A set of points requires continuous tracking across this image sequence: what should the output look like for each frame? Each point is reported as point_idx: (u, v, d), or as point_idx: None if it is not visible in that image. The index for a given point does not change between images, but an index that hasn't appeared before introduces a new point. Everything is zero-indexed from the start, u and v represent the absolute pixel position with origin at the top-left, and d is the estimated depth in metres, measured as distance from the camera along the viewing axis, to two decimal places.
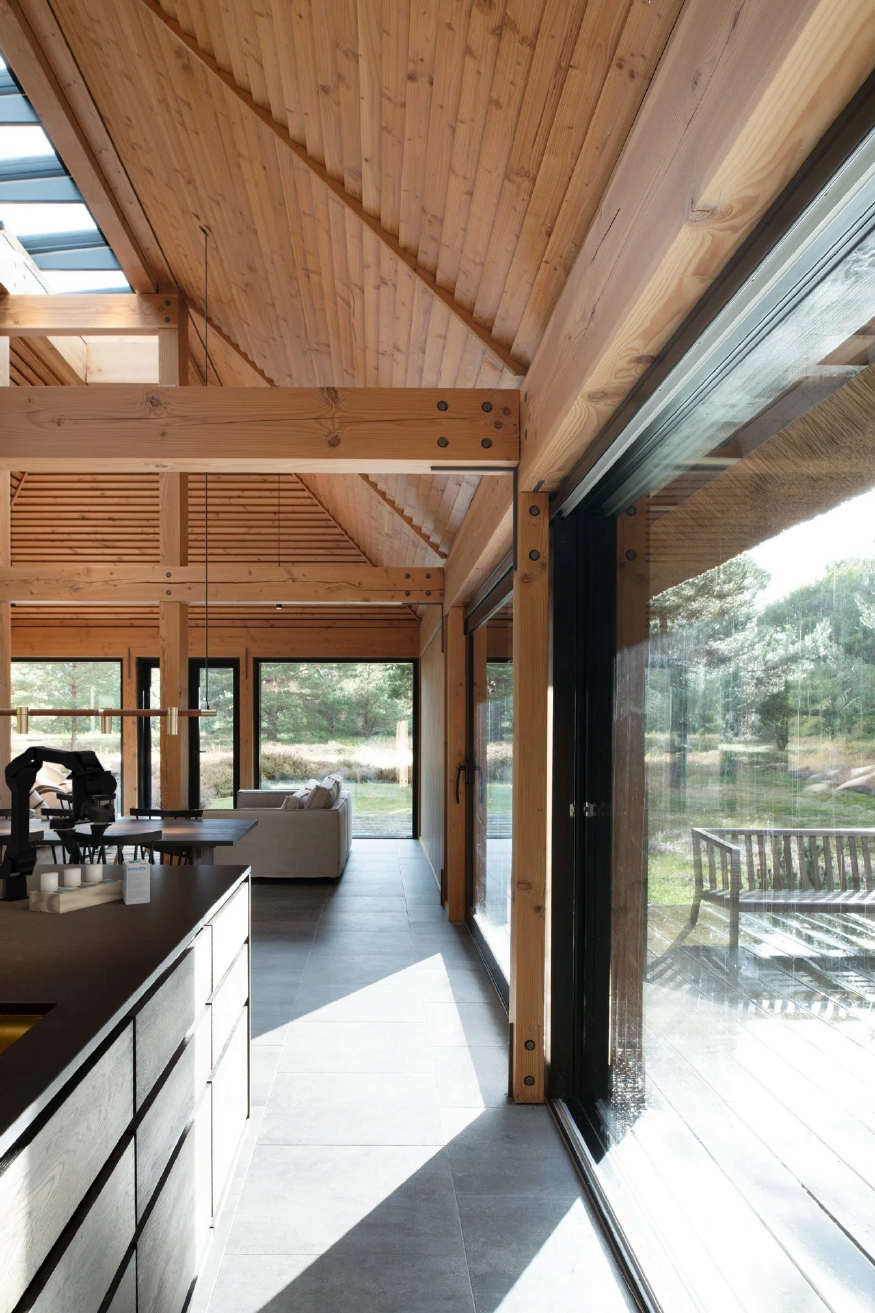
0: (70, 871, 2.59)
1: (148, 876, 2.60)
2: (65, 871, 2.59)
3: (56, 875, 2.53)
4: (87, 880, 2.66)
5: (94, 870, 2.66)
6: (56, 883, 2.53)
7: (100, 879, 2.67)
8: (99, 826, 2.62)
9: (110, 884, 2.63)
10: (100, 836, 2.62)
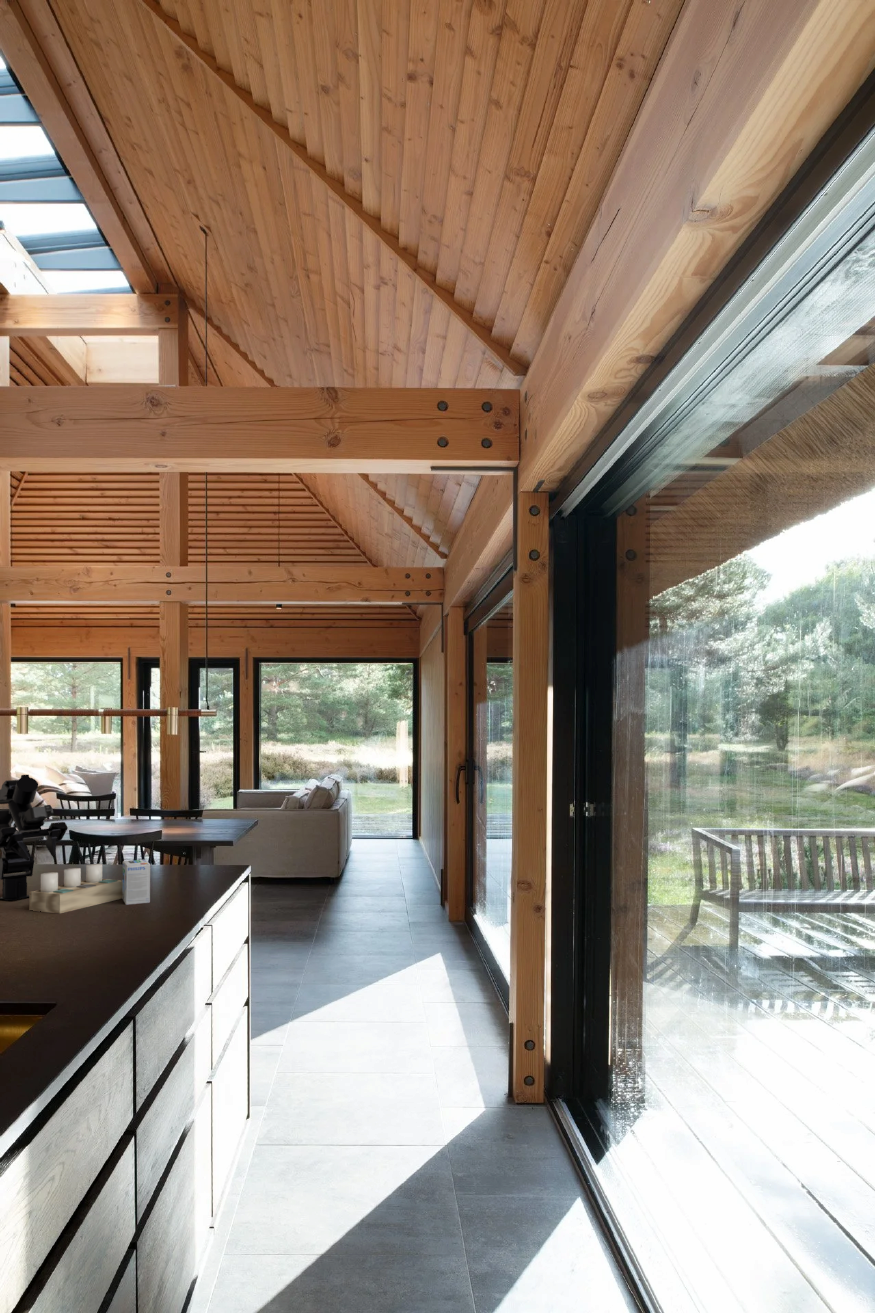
0: (70, 871, 2.59)
1: (148, 876, 2.60)
2: (65, 871, 2.59)
3: (56, 875, 2.53)
4: (87, 880, 2.66)
5: (94, 870, 2.66)
6: (56, 883, 2.53)
7: (100, 879, 2.67)
8: (49, 836, 2.63)
9: (110, 884, 2.63)
10: (52, 843, 2.61)
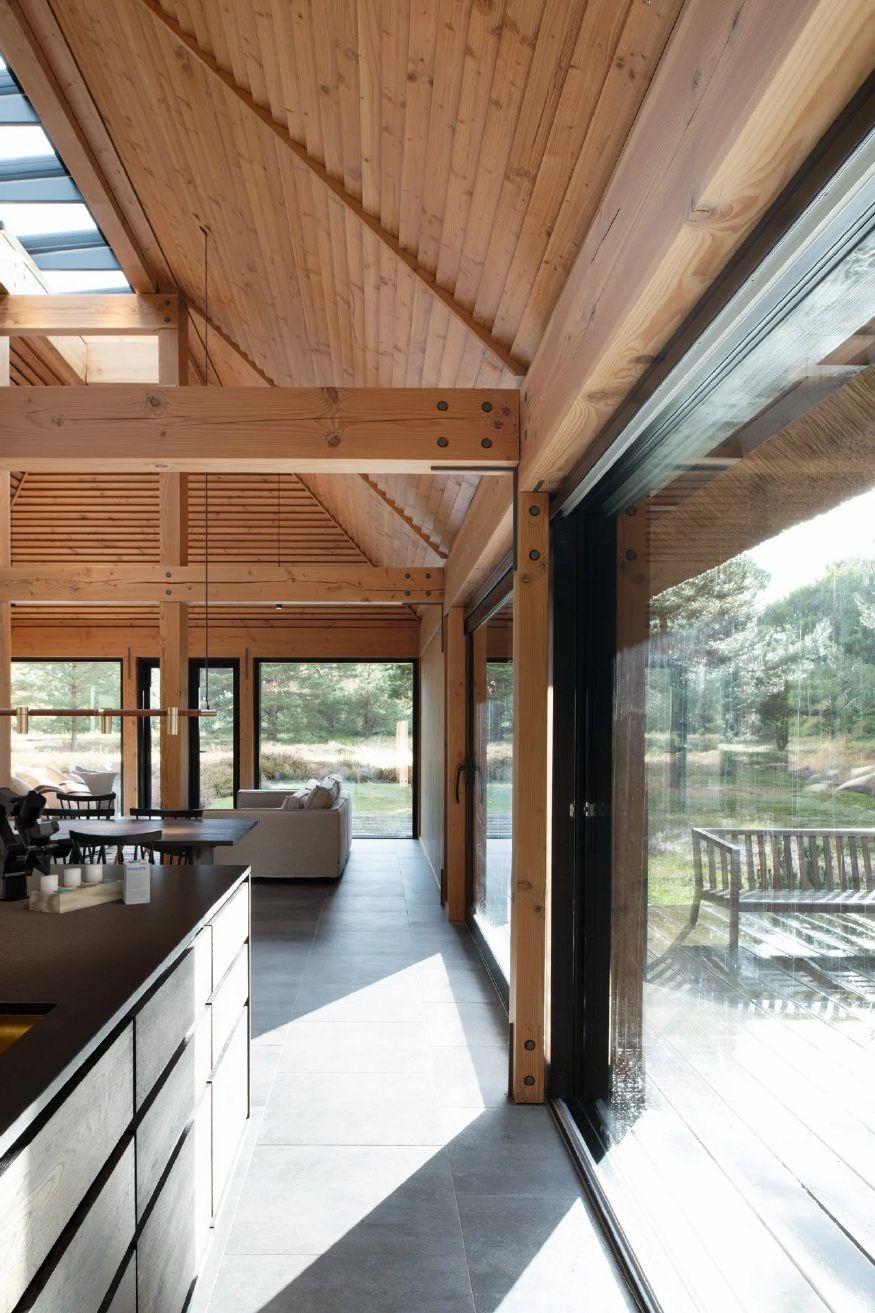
0: (70, 871, 2.59)
1: (148, 876, 2.60)
2: (65, 871, 2.59)
3: (56, 877, 2.53)
4: (87, 880, 2.66)
5: (94, 870, 2.66)
6: (56, 885, 2.53)
7: (100, 879, 2.67)
8: (43, 854, 2.58)
9: (110, 884, 2.63)
10: (47, 861, 2.56)
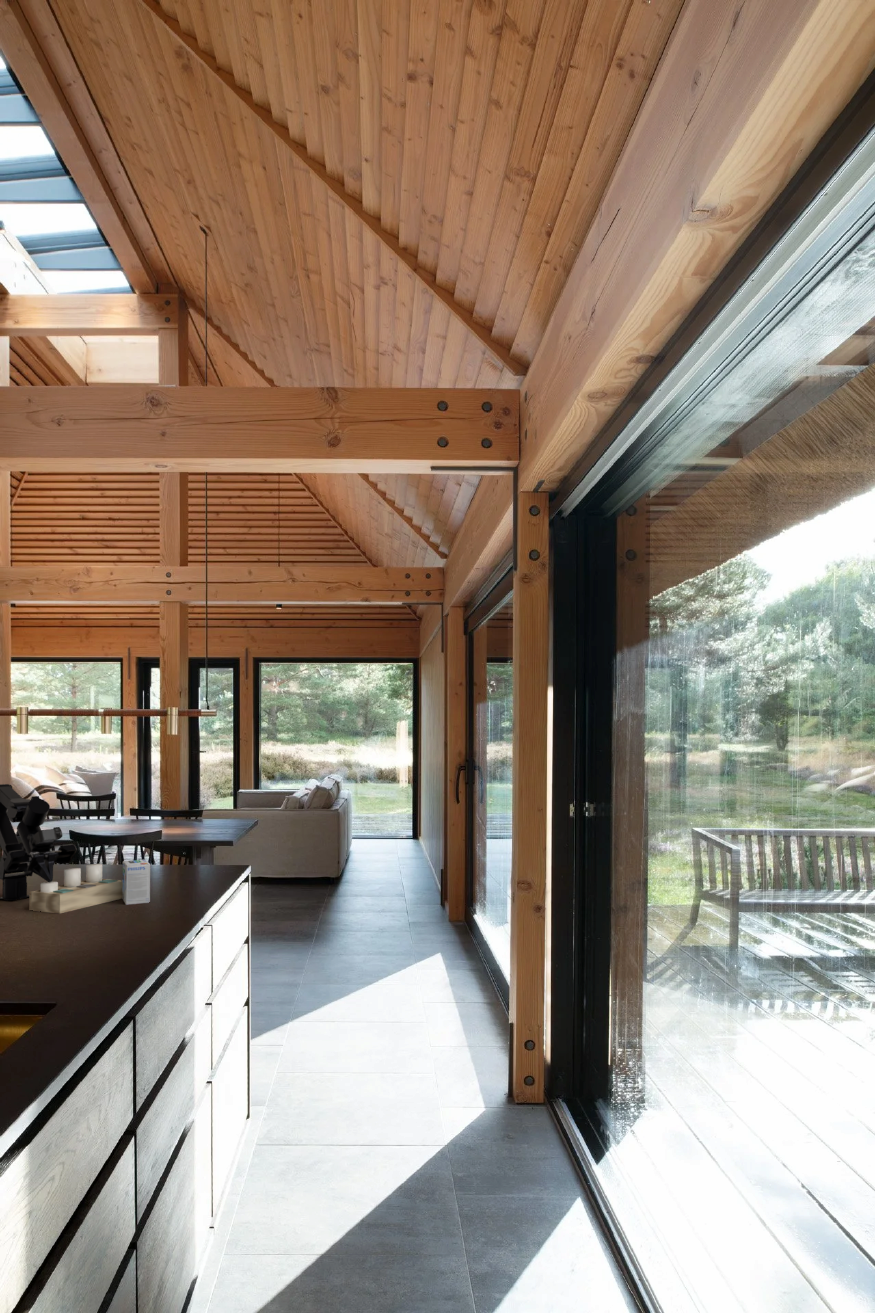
0: (70, 871, 2.59)
1: (148, 876, 2.60)
2: (65, 871, 2.59)
3: (56, 884, 2.53)
4: (87, 880, 2.66)
5: (94, 870, 2.66)
6: None
7: (100, 879, 2.67)
8: (46, 860, 2.56)
9: (110, 884, 2.63)
10: (49, 868, 2.55)
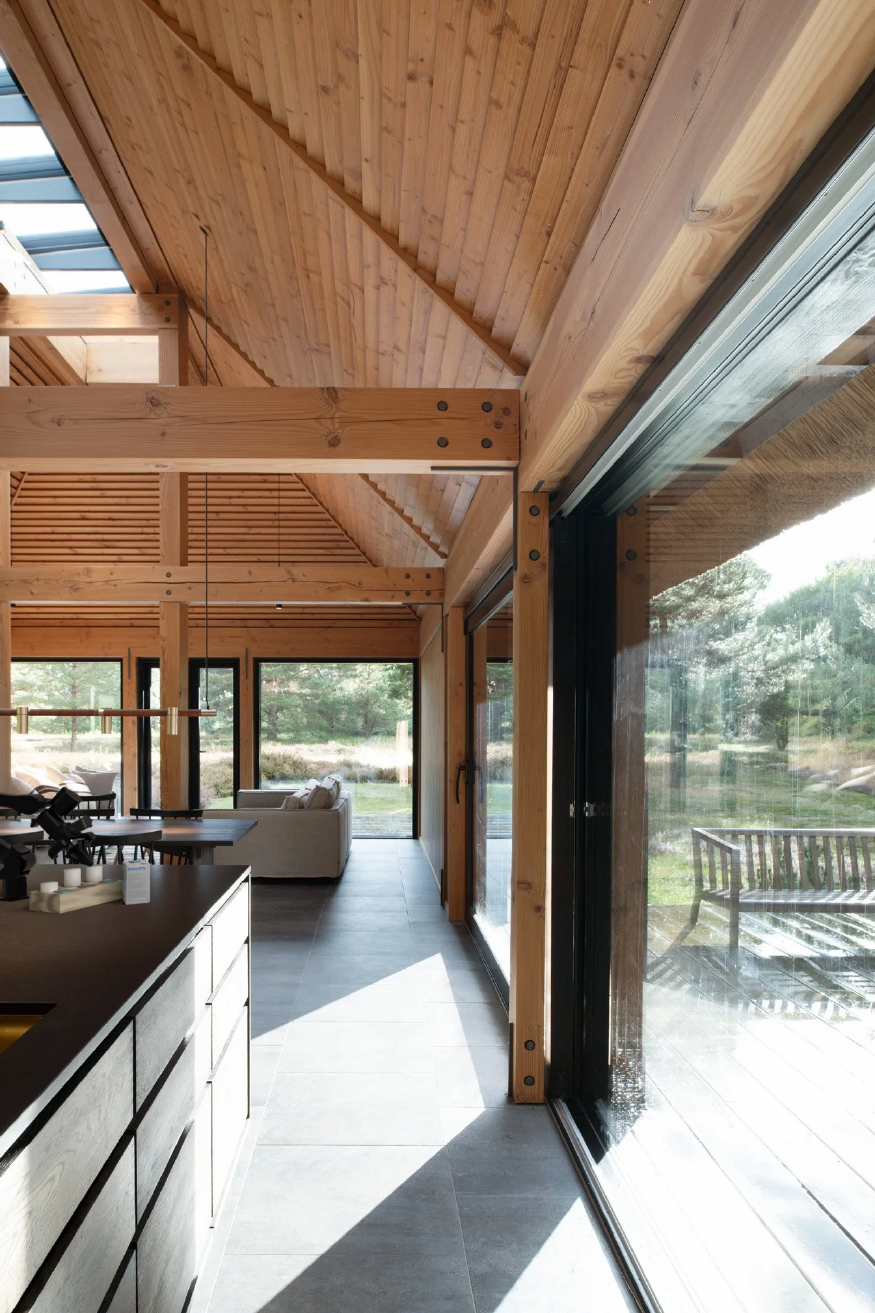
0: (70, 871, 2.59)
1: (148, 876, 2.60)
2: (65, 871, 2.59)
3: (56, 884, 2.53)
4: (87, 881, 2.66)
5: (94, 872, 2.66)
6: None
7: (100, 880, 2.67)
8: None
9: (110, 884, 2.63)
10: (86, 853, 2.69)
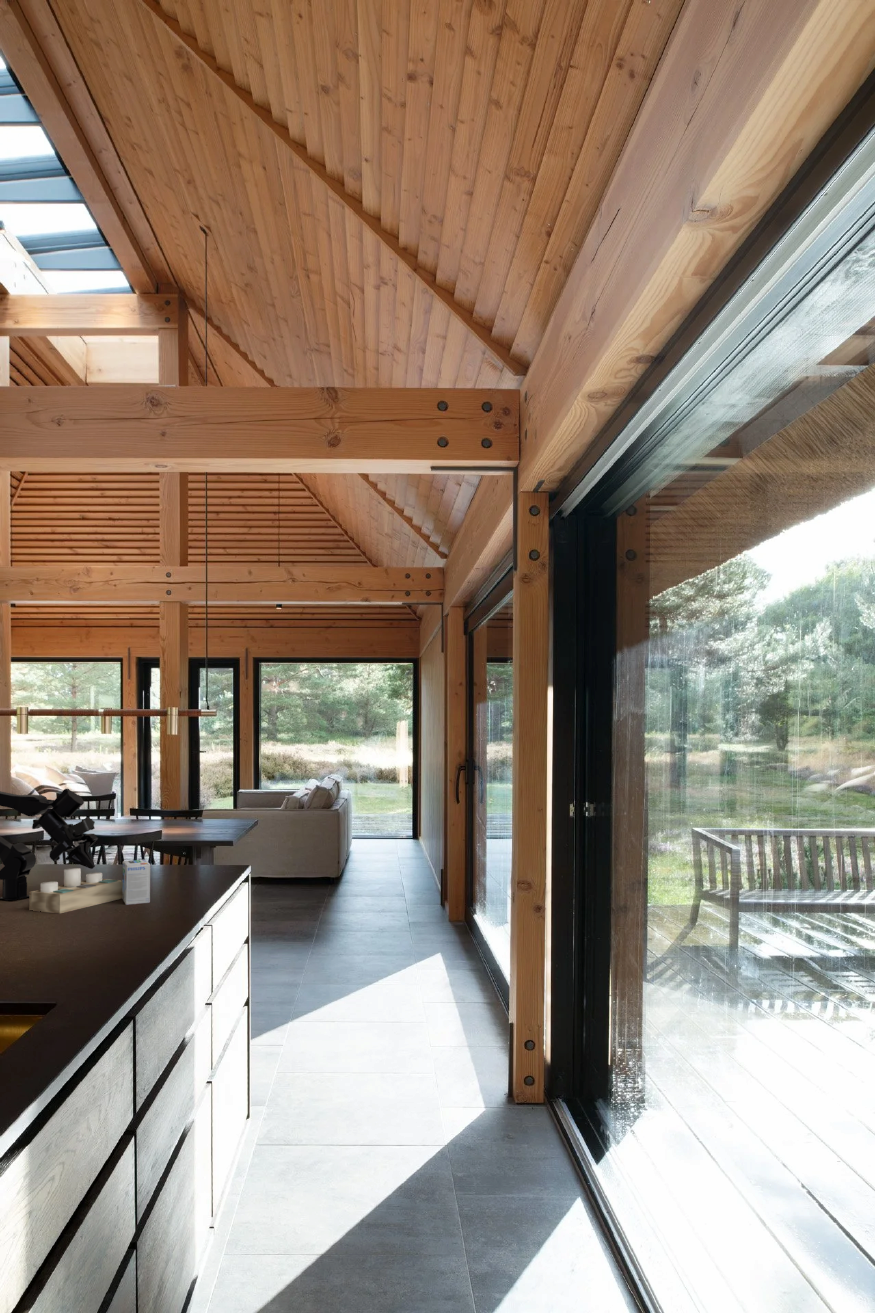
0: (70, 871, 2.59)
1: (148, 876, 2.60)
2: (65, 871, 2.59)
3: (56, 884, 2.53)
4: None
5: (94, 879, 2.66)
6: None
7: None
8: None
9: (110, 884, 2.63)
10: (88, 855, 2.69)
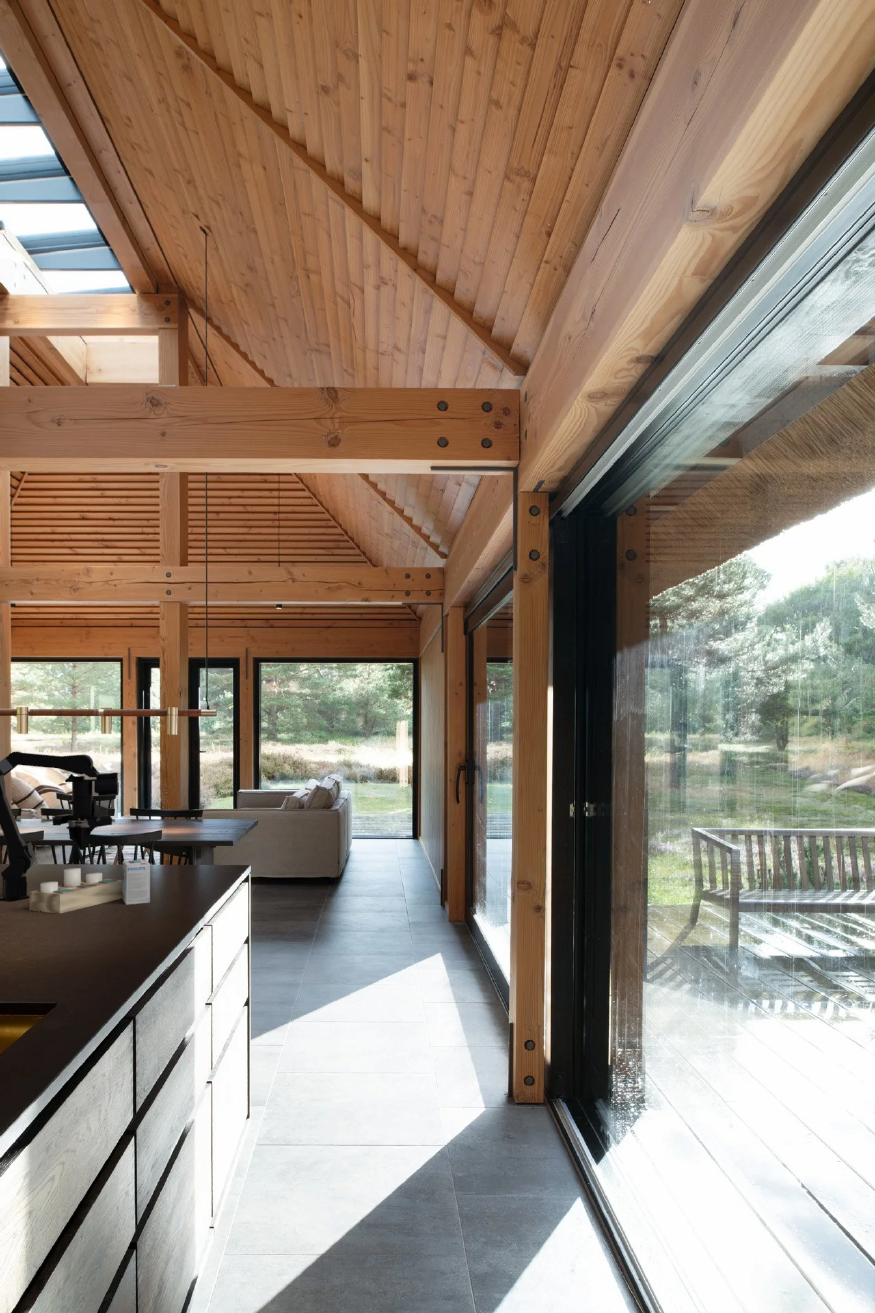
0: (70, 871, 2.59)
1: (148, 876, 2.60)
2: (65, 871, 2.59)
3: (56, 884, 2.53)
4: None
5: (94, 879, 2.66)
6: None
7: None
8: None
9: (110, 884, 2.63)
10: None
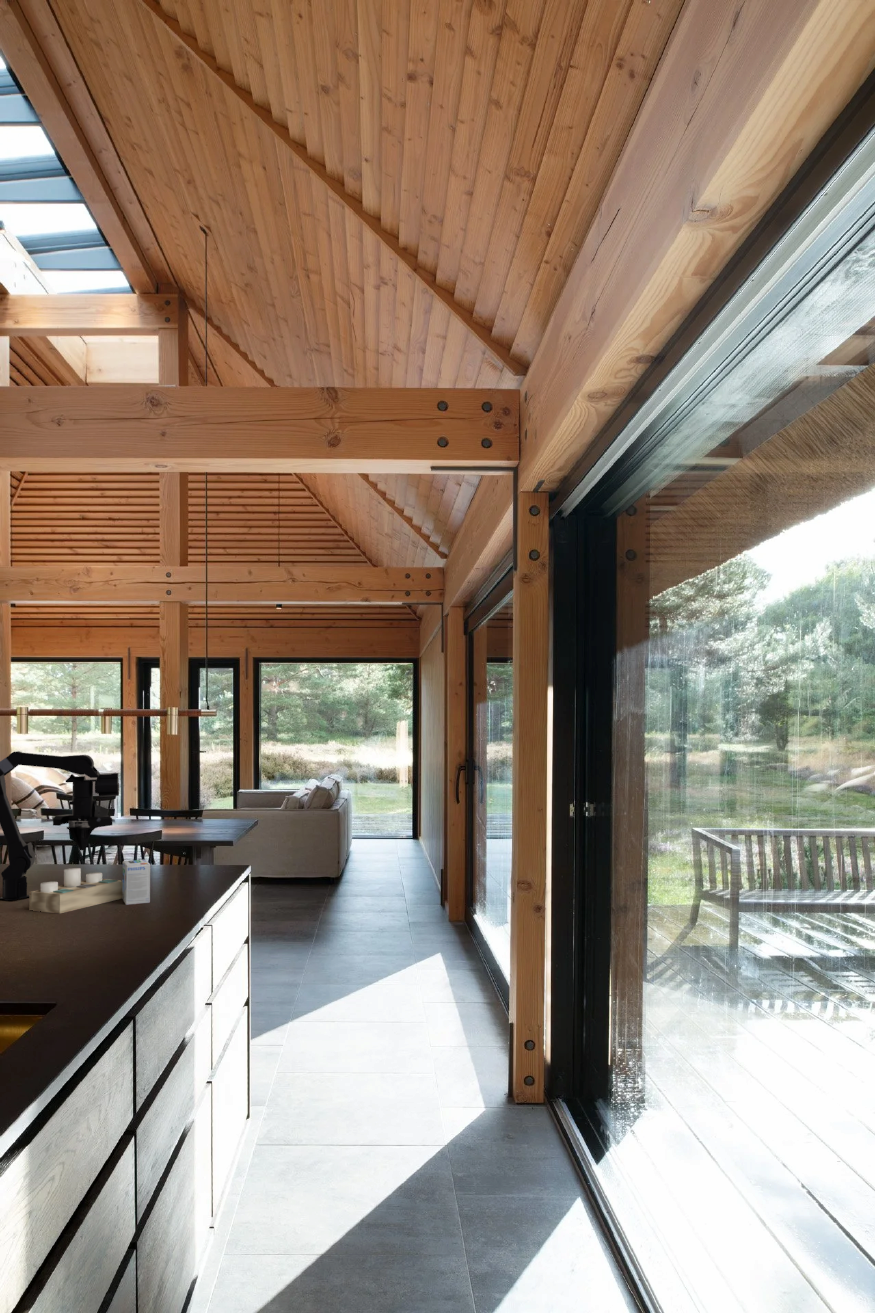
0: (70, 871, 2.59)
1: (148, 876, 2.60)
2: (65, 871, 2.59)
3: (56, 884, 2.53)
4: None
5: (94, 879, 2.66)
6: None
7: None
8: None
9: (110, 884, 2.63)
10: None
